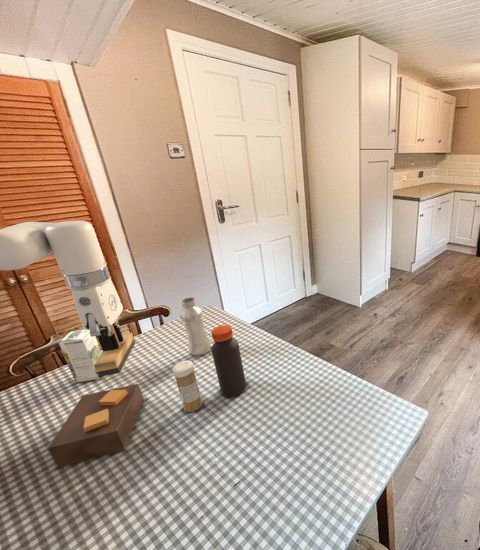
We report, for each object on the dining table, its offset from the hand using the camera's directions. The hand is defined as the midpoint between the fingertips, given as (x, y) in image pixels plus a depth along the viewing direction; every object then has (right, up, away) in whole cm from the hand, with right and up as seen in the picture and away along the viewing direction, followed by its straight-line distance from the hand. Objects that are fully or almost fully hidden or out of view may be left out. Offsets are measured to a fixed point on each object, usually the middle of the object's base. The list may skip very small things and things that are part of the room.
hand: (113, 345), depth 75 cm
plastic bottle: (+6, -9, +29) cm, 31 cm away
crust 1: (+1, -16, -5) cm, 17 cm away
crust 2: (-1, -14, +1) cm, 14 cm away
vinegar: (+24, -16, +13) cm, 32 cm away
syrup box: (-22, -14, +19) cm, 32 cm away
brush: (0, -4, +2) cm, 4 cm away
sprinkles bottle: (+16, -18, +7) cm, 25 cm away
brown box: (-2, -21, 0) cm, 21 cm away
